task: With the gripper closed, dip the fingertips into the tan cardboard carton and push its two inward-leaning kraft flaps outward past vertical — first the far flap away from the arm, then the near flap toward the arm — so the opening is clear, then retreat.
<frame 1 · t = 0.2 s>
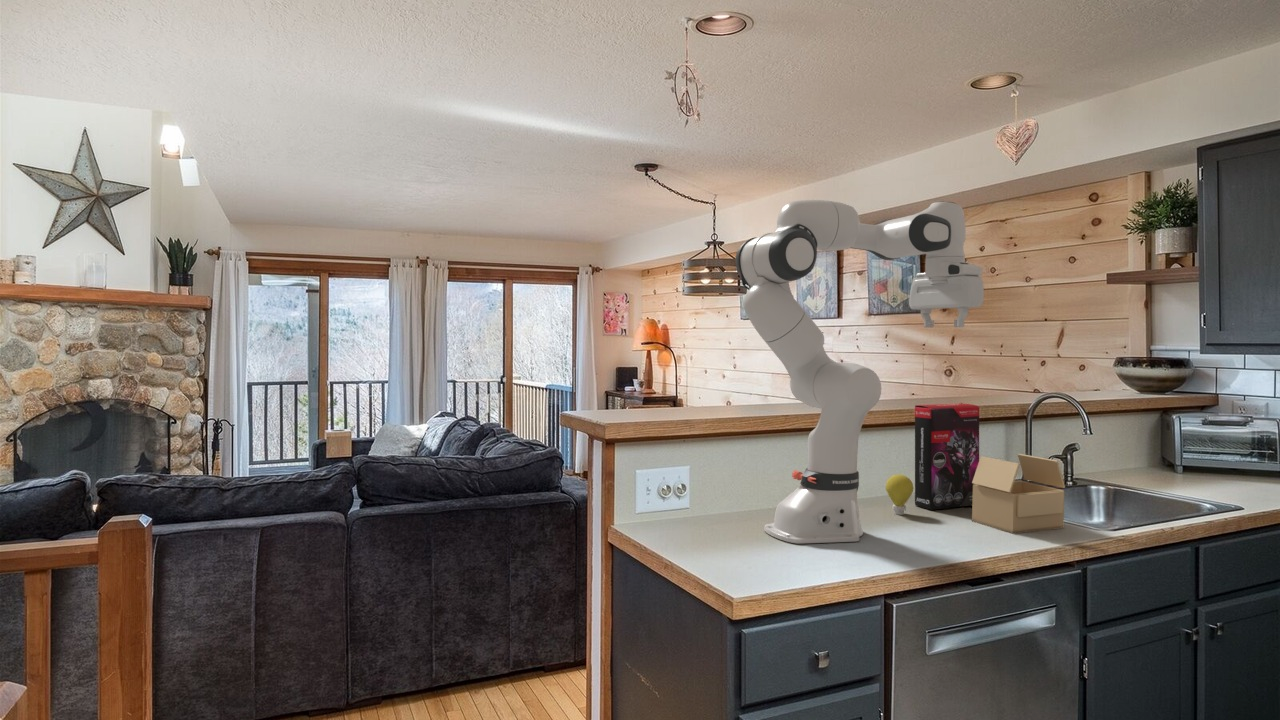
hand: (943, 327, 177), 47 cm above the counter, fingers open, 8 cm apart
flap far: (1040, 470, 178), point 13 cm above the counter, hinge at -22.0°
carton: (1016, 524, 176), on the counter
flap near: (995, 473, 173), point 13 cm above the counter, hinge at -22.0°
light bulb: (898, 514, 185), on the counter
graphics card box: (945, 506, 195), on the counter
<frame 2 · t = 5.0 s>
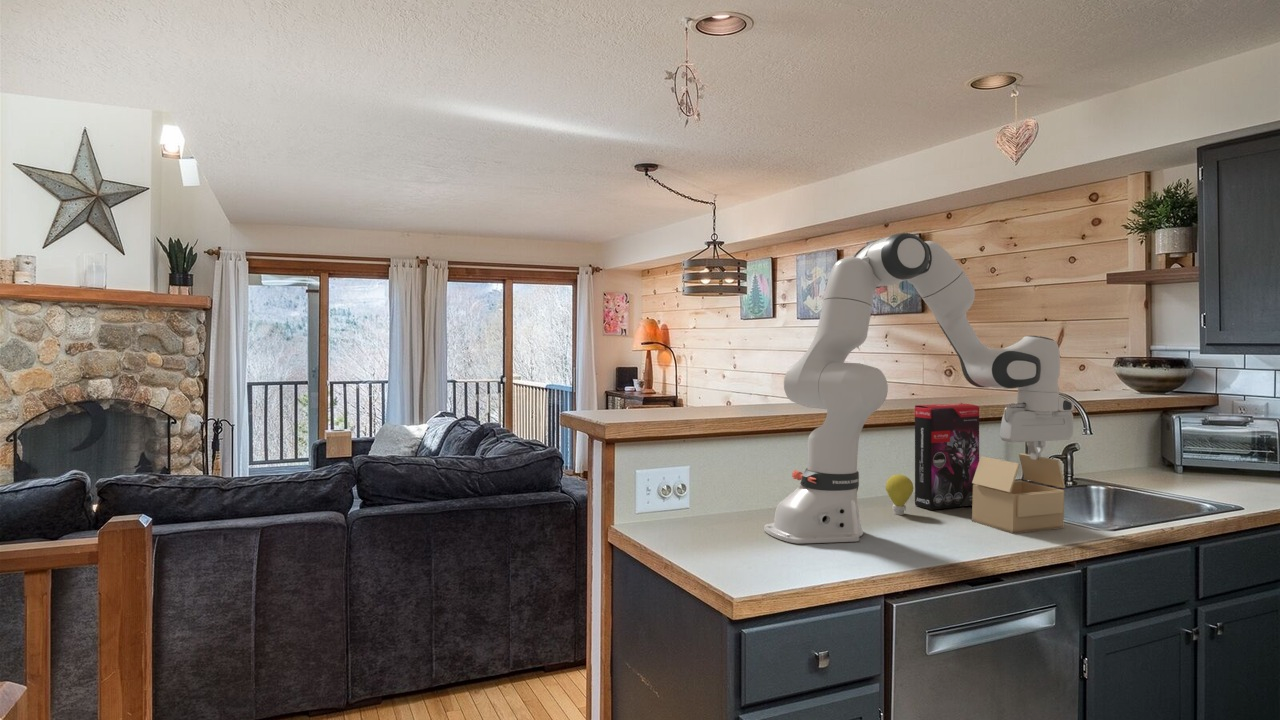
hand: (1035, 459, 177), 16 cm above the counter, fingers closed, pressing on flap far
flap far: (1041, 470, 178), point 13 cm above the counter, hinge at -19.0°, touching gripper
everything else where it was.
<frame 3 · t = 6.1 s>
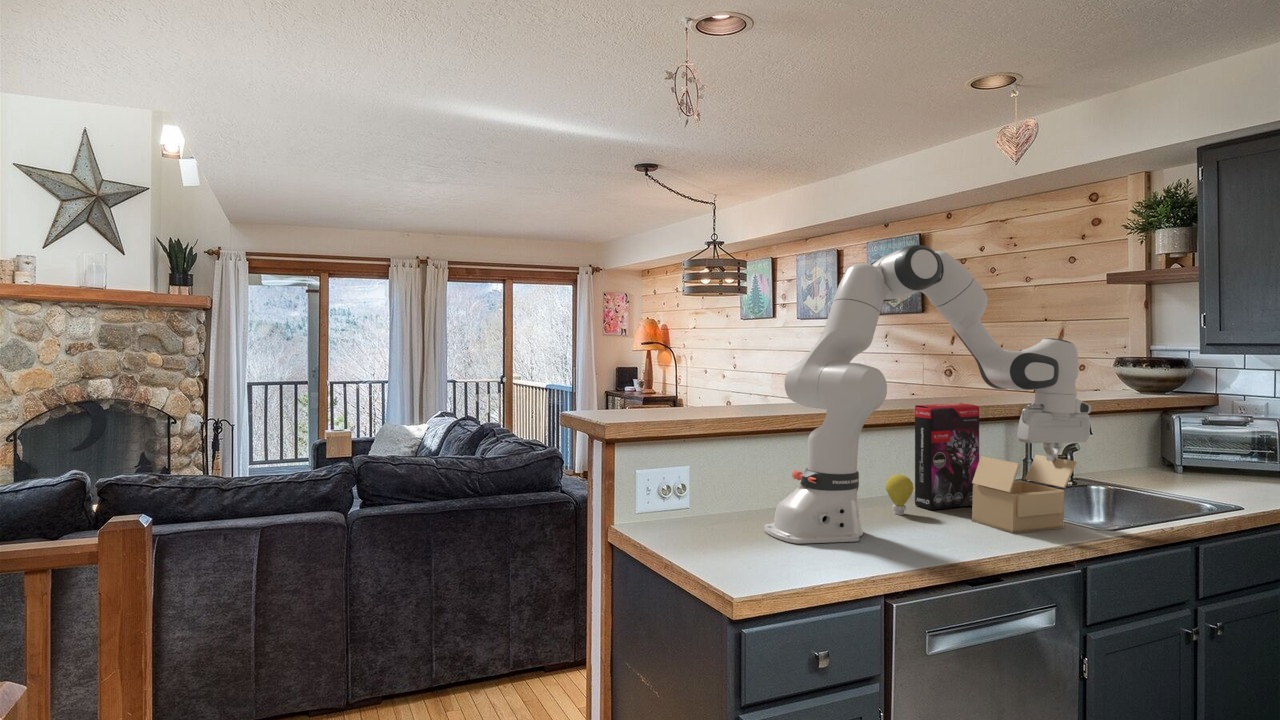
hand: (1051, 460, 179), 15 cm above the counter, fingers closed
flap far: (1050, 470, 179), point 12 cm above the counter, hinge at 31.5°, touching gripper
everything else where it was.
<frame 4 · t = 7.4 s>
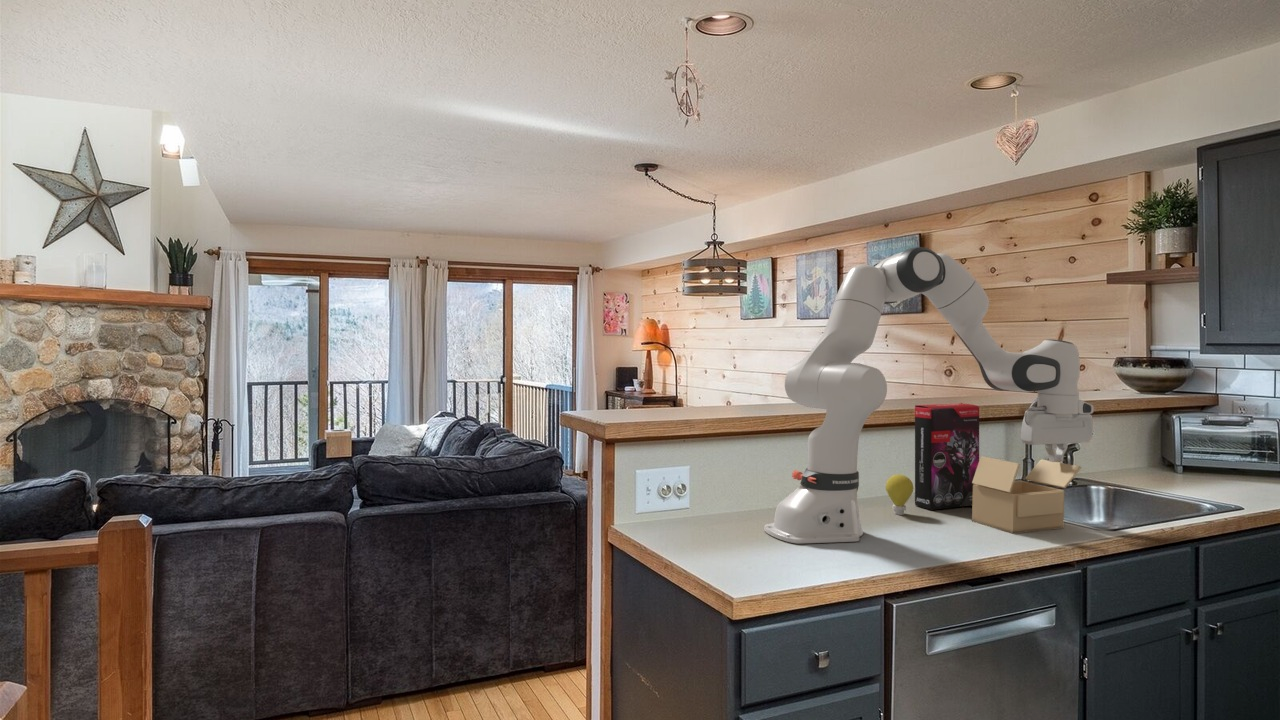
hand: (1055, 461, 179), 15 cm above the counter, fingers closed
flap far: (1052, 473, 179), point 12 cm above the counter, hinge at 48.7°
everything else where it was.
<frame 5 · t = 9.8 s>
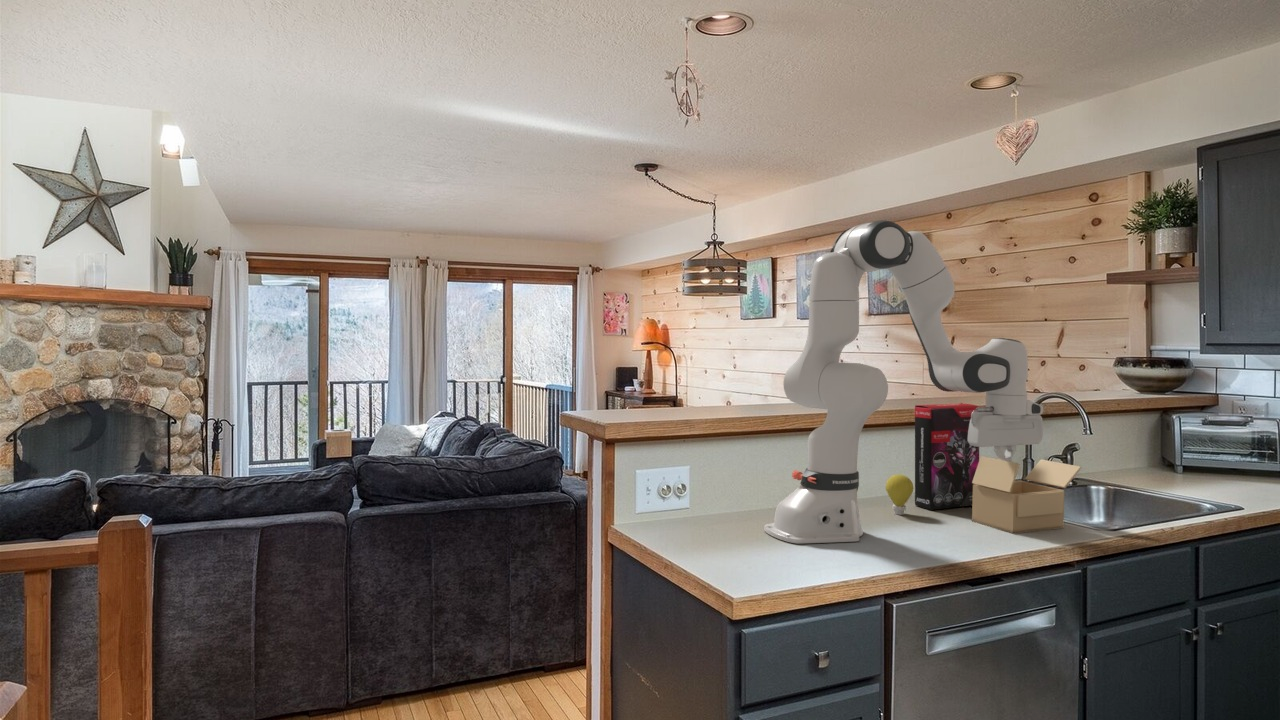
hand: (1004, 464, 174), 15 cm above the counter, fingers closed
flap near: (995, 473, 173), point 13 cm above the counter, hinge at -21.7°, touching gripper
everything else where it was.
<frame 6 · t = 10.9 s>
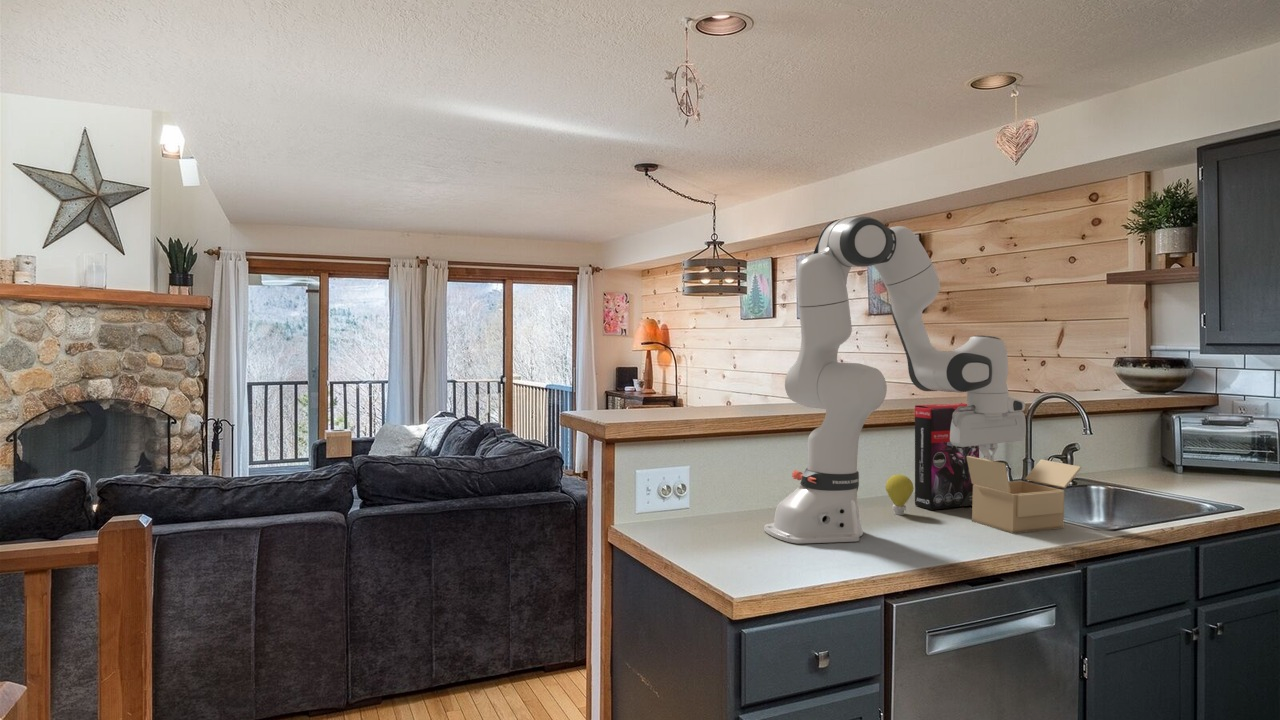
hand: (988, 462, 172), 16 cm above the counter, fingers closed, pressing on flap near
flap near: (987, 473, 172), point 13 cm above the counter, hinge at 16.2°, touching gripper
everything else where it was.
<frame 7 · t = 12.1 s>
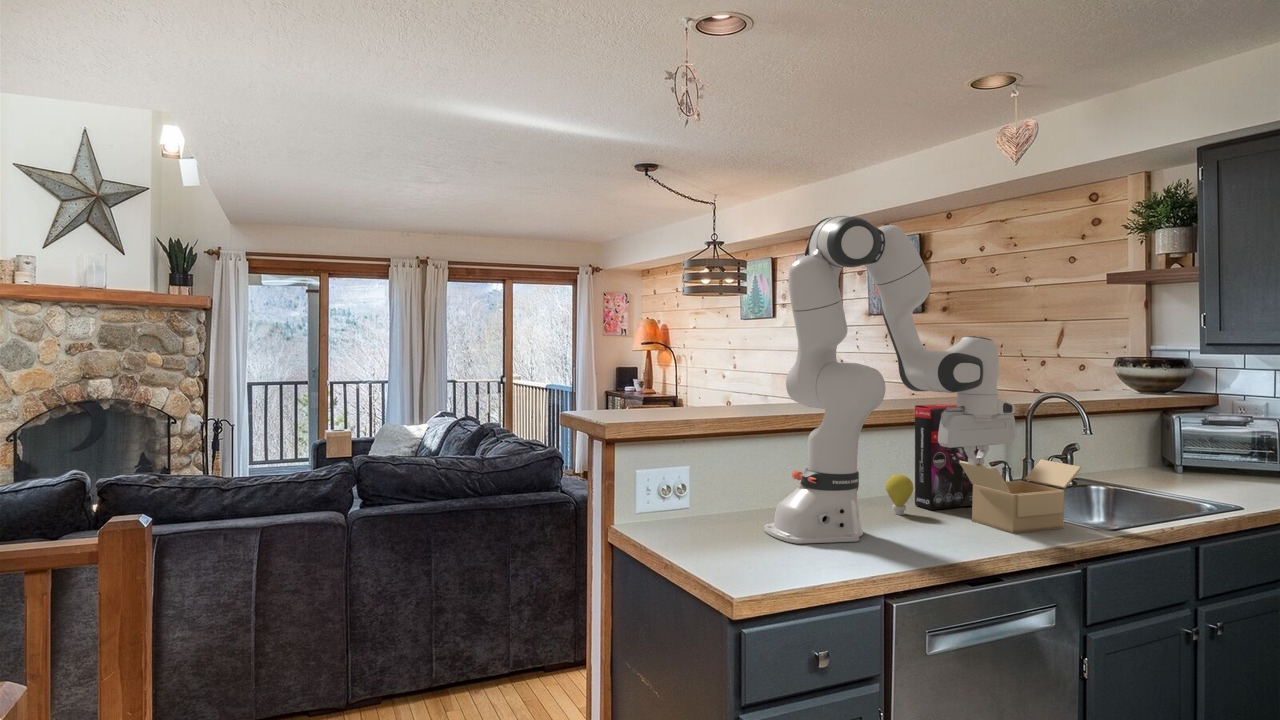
hand: (976, 464, 171), 15 cm above the counter, fingers closed
flap near: (984, 476, 172), point 12 cm above the counter, hinge at 37.1°, touching gripper
everything else where it was.
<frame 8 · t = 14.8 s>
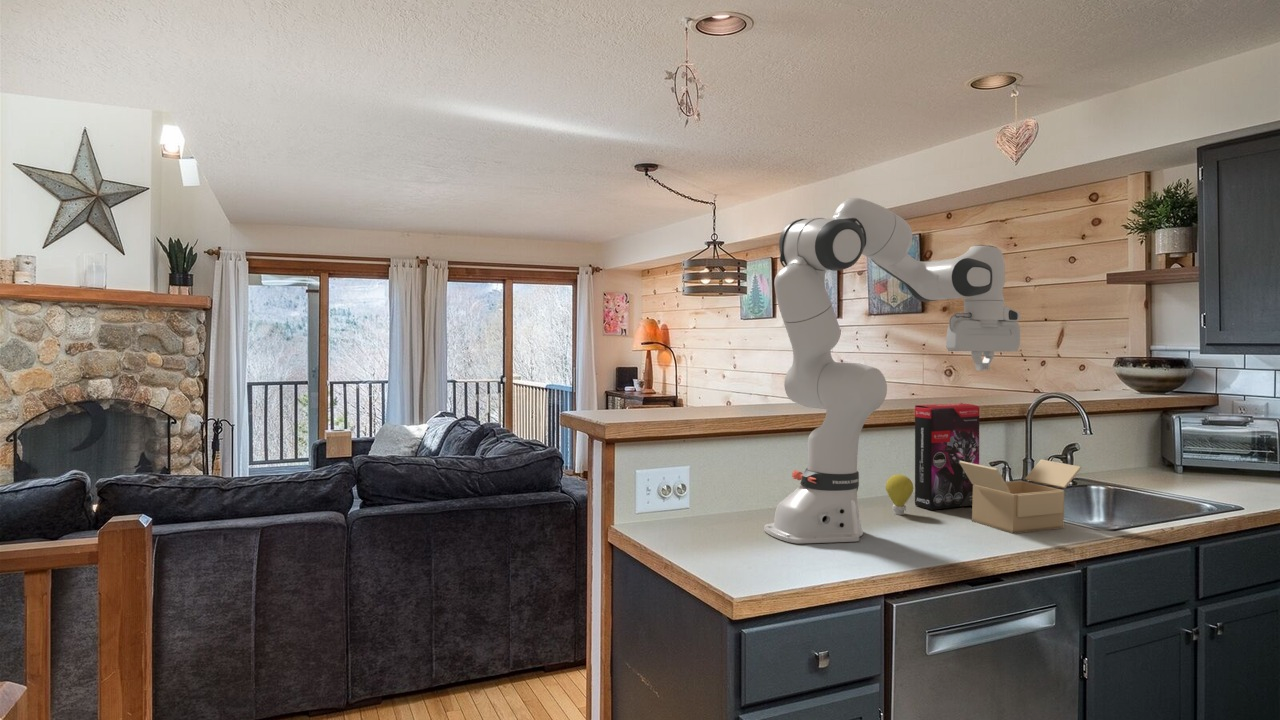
hand: (982, 370, 177), 37 cm above the counter, fingers closed
flap near: (984, 476, 172), point 12 cm above the counter, hinge at 37.5°
everything else where it was.
at the end: flap far at +49° (first picture: -22°); flap near at +38° (first picture: -22°) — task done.
